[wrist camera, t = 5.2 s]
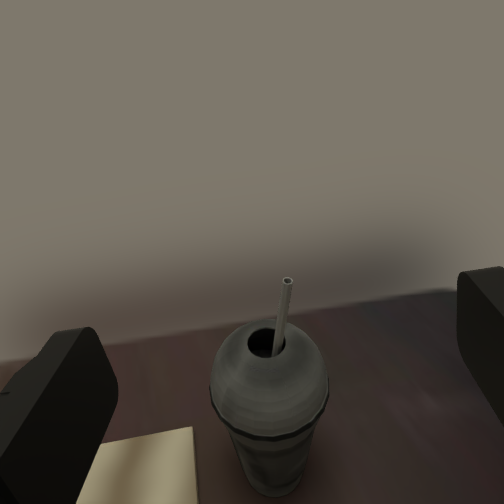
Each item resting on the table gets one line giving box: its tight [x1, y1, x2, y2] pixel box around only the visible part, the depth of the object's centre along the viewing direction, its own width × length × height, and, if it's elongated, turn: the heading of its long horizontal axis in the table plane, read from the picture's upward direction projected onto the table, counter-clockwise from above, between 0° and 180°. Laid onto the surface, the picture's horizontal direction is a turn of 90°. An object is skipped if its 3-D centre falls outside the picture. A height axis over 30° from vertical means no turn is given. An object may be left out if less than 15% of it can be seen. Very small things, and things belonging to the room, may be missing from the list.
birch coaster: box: [76, 427, 199, 504], centre depth 32 cm, size 10×9×1 cm
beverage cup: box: [209, 277, 329, 497], centre depth 27 cm, size 7×7×20 cm
